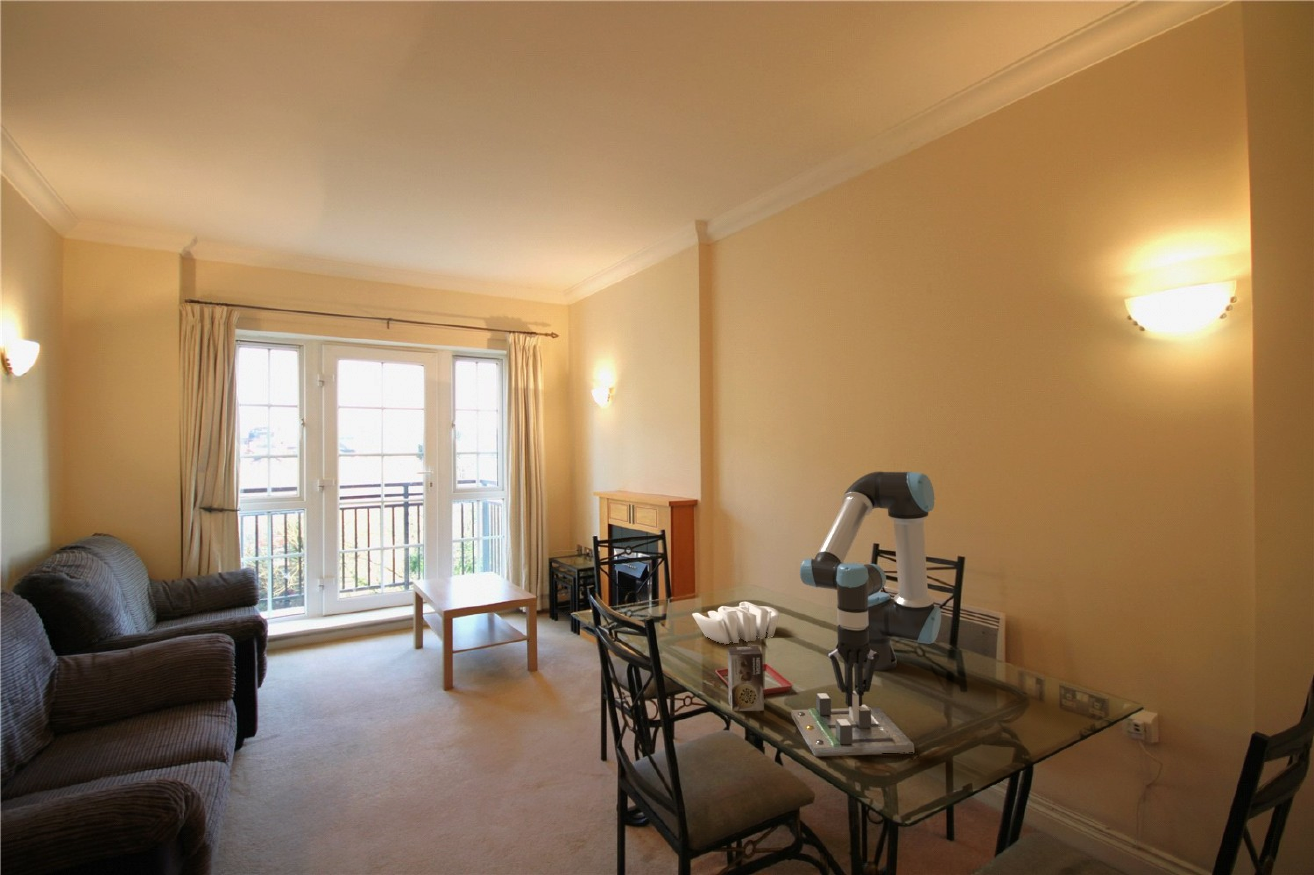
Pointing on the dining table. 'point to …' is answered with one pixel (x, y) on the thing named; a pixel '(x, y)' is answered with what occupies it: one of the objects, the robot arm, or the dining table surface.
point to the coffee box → (745, 678)
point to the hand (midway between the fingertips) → (854, 718)
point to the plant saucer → (778, 677)
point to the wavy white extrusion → (738, 623)
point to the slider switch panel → (865, 740)
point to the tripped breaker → (864, 717)
